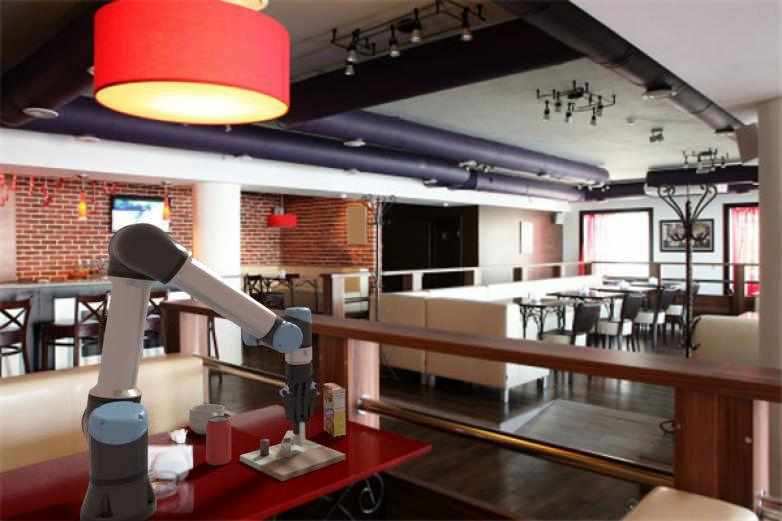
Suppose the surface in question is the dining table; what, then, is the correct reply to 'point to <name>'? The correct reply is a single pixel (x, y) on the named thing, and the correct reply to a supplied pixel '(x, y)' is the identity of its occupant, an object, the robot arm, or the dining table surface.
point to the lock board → (291, 459)
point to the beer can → (218, 440)
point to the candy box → (334, 409)
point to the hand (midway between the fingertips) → (300, 444)
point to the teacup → (203, 416)
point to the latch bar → (288, 444)
